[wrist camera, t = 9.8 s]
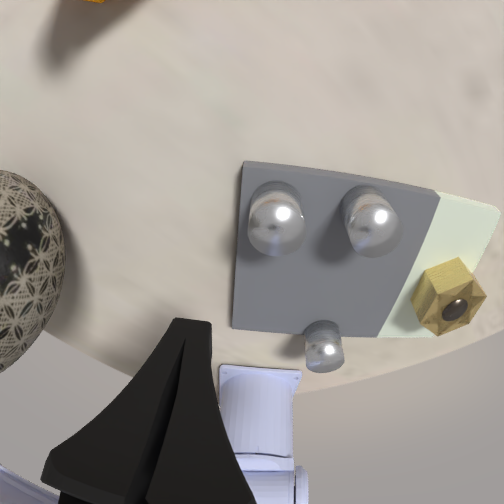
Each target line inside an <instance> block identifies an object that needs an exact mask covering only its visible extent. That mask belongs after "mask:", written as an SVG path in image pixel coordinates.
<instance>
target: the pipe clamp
mask: <svg viewBox="0 0 504 504" xmlns="http://www.w3.org/2000/svg"><path fill="white" fill-rule="evenodd" d="M85 1H91V2H97V3H103V2H104V1H105V0H85Z"/></svg>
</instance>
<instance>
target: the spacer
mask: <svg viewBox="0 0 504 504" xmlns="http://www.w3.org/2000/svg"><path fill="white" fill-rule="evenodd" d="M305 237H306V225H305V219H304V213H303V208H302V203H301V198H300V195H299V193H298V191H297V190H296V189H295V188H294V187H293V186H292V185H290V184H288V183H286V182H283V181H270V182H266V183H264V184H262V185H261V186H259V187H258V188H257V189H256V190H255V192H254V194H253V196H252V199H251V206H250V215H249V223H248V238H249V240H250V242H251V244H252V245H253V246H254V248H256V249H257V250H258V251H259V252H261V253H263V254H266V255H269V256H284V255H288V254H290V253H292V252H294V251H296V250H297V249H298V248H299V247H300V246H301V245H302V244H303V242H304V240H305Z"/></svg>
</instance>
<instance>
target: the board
mask: <svg viewBox="0 0 504 504" xmlns="http://www.w3.org/2000/svg"><path fill="white" fill-rule="evenodd" d="M270 181H283V182H286V183H288V184H290V185H292V186H293V187H294V188H295V189H296V190H297V191H298V193H299V195H300V198H301V203H302V208H303V213H304V219H305V225H306V237H305V240H304V242H303V244H302V245H301V246H300V247H299V248H298V249H297V250H296V251H294V252H292V253H290V254H288V255H284V256H269V255H266V254H263V253H261V252H259V251H258V250H257V249H256V248H254V246H253V245H252V244H251V242H250V240H249V238H248V223H249V215H250V206H251V199H252V196H253V194H254V192H255V190H256V189H257V188H258V187H259V186H261V185H262V184H264V183H266V182H270ZM359 185H371V186H374V187H376V188H378V189H379V190H380V191H381V192H382V194H383V195H384V197H385V198H386V200H387V201H388V202H389V204H390V205H391V207H392V208H393V210H394V212H395V213H396V215H397V216H398V218H399V219H400V221H401V223H402V226H403V234H402V238H401V240H400V242H399V244H398V245H397V246H396V248H395V249H394V250H392V251H391V252H390V253H388V254H386V255H384V256H381V257H377V258H368V257H364V256H362V255H360V254H358V253H357V252H356V251H355V250H354V248H353V246H352V244H351V241H350V238H349V236H348V233H347V230H346V227H345V225H344V222H343V219H342V217H341V214H340V203H341V200H342V198H343V196H344V195H345V194H346V193H347V192H348V191H349V190H350V189H352V188H353V187H356V186H359ZM500 216H501V212H500V211H499V210H498V209H497V208H496V207H495V206H493V205H489V204H486V203H482V202H478V201H475V200H471V199H467V198H463V197H459V196H455V195H451V194H447V193H443V192H439V191H434V190H430V189H426V188H421V187H417V186H412V185H407V184H402V183H397V182H392V181H387V180H382V179H376V178H371V177H365V176H359V175H353V174H347V173H341V172H335V171H328V170H321V169H314V168H306V167H299V166H291V165H282V164H273V163H264V162H254V161H244V164H243V172H242V185H241V199H240V212H239V226H238V241H237V255H236V271H235V286H234V302H233V319H232V329H239V330H250V331H261V332H273V333H286V334H301V335H304V330H305V328H306V327H307V326H308V325H309V324H311V323H313V322H315V321H319V320H330V321H333V322H335V323H336V324H337V325H338V326H339V331H340V336H341V337H378V338H420V337H433V336H434V335H435V334H433V333H432V332H431V331H429V330H428V329H426V328H425V327H424V326H422V325H421V324H420V323H419V320H418V318H417V315H416V313H415V310H414V308H413V305H412V303H411V301H410V299H411V297H412V295H413V293H414V291H415V289H416V287H417V285H418V283H419V281H420V279H421V277H422V275H423V273H424V271H425V270H426V269H429V268H431V267H434V266H436V265H439V264H442V263H444V262H447V261H449V260H452V259H454V258H457V257H459V258H460V259H461V260H462V261H463V263H464V264H465V265H466V266H467V267H468V269H469V270H470V271H471V272H472V273H473V271H474V270H475V268H476V266H477V264H478V262H479V260H480V258H481V256H482V254H483V252H484V250H485V248H486V246H487V244H488V242H489V240H490V238H491V236H492V234H493V232H494V229H495V227H496V225H497V223H498V220H499V218H500Z"/></svg>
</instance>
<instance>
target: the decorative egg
mask: <svg viewBox="0 0 504 504" xmlns="http://www.w3.org/2000/svg"><path fill="white" fill-rule="evenodd" d="M64 270H65V246H64V238H63V233H62V229H61V226H60V223H59V220H58V218H57V215H56V213H55V211H54V209H53V207H52V206H51V204H50V202H49V200H48V199H47V198H46V196H45V195H44V194H43V193H42V192H41V191H40V190H39V189H38V188H37V187H36V186H35V185H34V184H33V183H31V182H30V181H28V180H27V179H25V178H23V177H21V176H19V175H17V174H14V173H11V172H8V171H3V170H0V373H1V372H3V371H4V370H6V369H7V368H8V367H9V366H11V365H12V364H13V363H14V362H15V361H17V360H18V359H19V358H20V357H21V356H22V355H23V354H24V353H25V352H26V351H27V350H28V348H29V347H30V346H31V345H32V344H33V343H34V341H35V340H36V339H37V337H38V336H39V335H40V333H41V331H42V330H43V329H44V327H45V325H46V324H47V322H48V320H49V319H50V317H51V315H52V313H53V311H54V308H55V306H56V304H57V301H58V298H59V295H60V291H61V287H62V282H63V277H64Z"/></svg>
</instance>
